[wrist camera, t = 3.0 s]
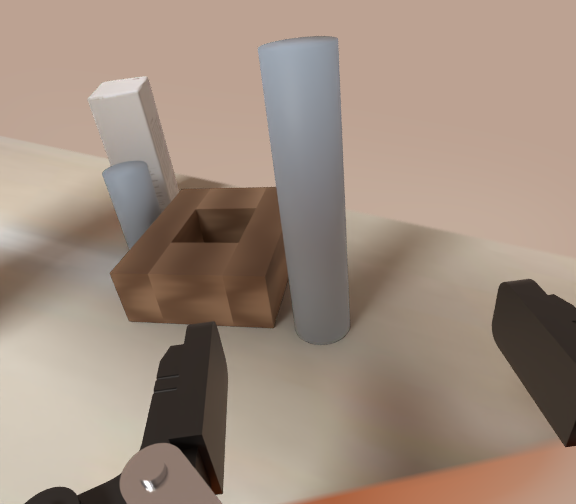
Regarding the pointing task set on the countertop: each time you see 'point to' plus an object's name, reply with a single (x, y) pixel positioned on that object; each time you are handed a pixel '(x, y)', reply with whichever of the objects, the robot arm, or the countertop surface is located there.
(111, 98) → the skincare box
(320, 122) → the long pin
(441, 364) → the countertop surface
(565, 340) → the robot arm
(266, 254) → the socket block
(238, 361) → the countertop surface
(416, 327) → the countertop surface
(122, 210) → the short pin
